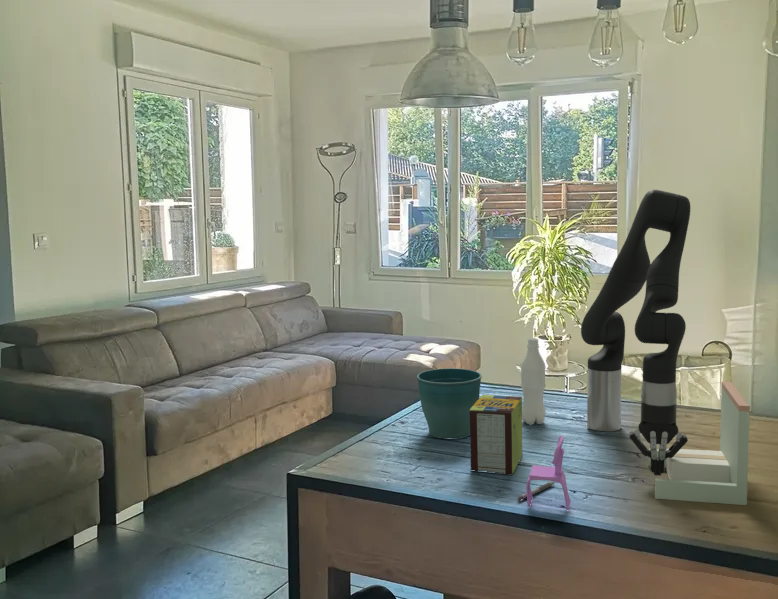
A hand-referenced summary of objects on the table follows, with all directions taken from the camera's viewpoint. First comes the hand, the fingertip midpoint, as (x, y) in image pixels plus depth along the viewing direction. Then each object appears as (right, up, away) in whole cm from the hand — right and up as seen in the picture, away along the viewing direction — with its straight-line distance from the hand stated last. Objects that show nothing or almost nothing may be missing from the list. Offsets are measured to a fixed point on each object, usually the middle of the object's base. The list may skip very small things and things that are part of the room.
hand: (657, 474), depth 168 cm
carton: (+9, -2, 0) cm, 9 cm away
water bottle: (-19, +3, +49) cm, 52 cm away
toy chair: (-27, -4, -12) cm, 30 cm away
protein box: (-34, -1, +15) cm, 38 cm away
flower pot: (-44, +2, +40) cm, 60 cm away
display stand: (+8, -2, -2) cm, 8 cm away
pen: (-29, -4, -5) cm, 29 cm away
